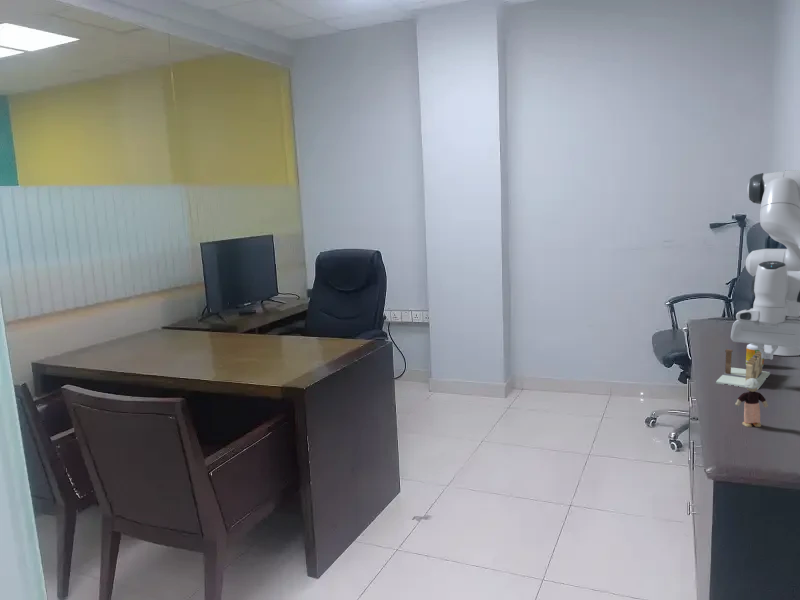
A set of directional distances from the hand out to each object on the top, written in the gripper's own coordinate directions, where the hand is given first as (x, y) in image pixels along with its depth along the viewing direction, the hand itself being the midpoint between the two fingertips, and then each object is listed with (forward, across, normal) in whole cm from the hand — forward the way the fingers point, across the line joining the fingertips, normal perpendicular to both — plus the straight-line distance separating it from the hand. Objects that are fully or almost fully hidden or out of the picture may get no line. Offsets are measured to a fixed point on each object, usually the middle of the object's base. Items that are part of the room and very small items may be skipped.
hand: (767, 358), depth 188 cm
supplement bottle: (+9, +8, -25) cm, 28 cm away
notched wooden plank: (+8, +4, -2) cm, 10 cm away
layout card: (+9, +8, -7) cm, 14 cm away
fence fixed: (+8, +5, -11) cm, 15 cm away
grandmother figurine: (+10, -2, +37) cm, 38 cm away
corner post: (+9, +12, -9) cm, 18 cm away
